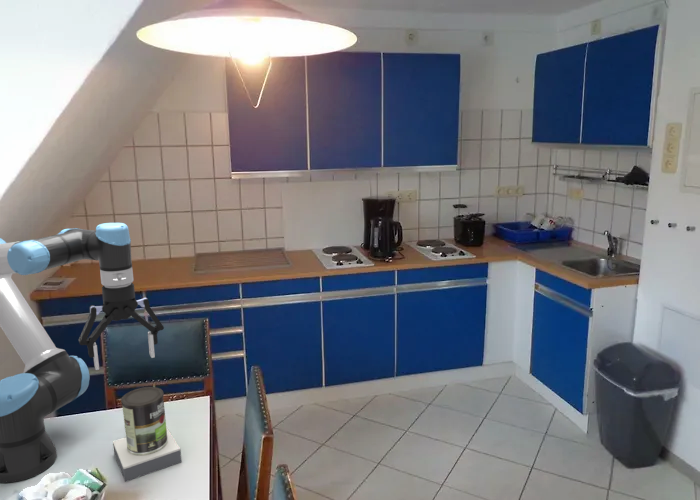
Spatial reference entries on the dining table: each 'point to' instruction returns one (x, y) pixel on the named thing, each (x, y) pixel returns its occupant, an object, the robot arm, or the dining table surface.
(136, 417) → the coffee can
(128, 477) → the plinth
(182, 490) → the dining table surface
